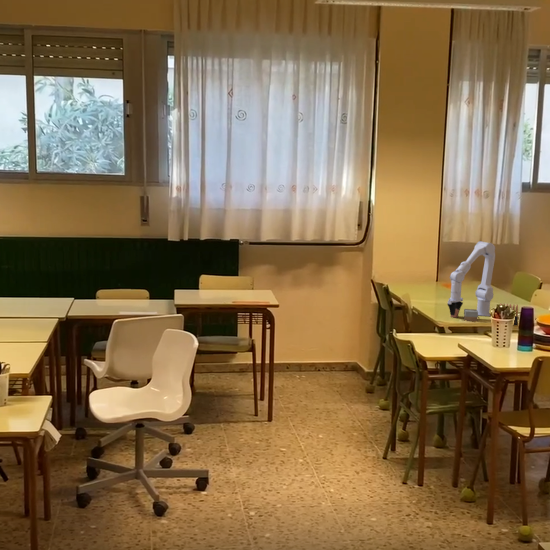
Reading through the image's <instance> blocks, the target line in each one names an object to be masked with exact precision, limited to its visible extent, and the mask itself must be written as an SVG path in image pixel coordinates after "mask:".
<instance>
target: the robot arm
mask: <svg viewBox="0 0 550 550" xmlns="http://www.w3.org/2000/svg"><path fill="white" fill-rule="evenodd" d="M473 247H474V249H473V250H472V252H471V253H470V255H469V256H468V257H467V259H466V260H465V261H462V262H461V263H460V265H459V266H458V267H457V268H456V269H455V270H454V271H452V272H451V273H450V275H449V280H450V283H451V285H450V298H449V297H448V300H447V306H448V309H449V313H450V316H451V315H453V316H454V315H455V310H456V309H458V310H459V313H460V311H461V307H462V306H463V304H464V302H463V301H464V298H463V297H462V296H461V295H462V282H463V281H464V280H465V276H466V274H468V272H469V271H470V269H471V268H472V266H471V265H472V264H473V263H474V262H475V261H476V260H477V259H478V257H480V256H483V257H484V265H483V269H482V276H481V283H480V284H478V285H477V289H476V290H475V297H476V299H477V304H476V305H477V306H476V310H477V311H478V316H481V317H491V314H490V308H491V301H492V300H493V298H494V287H493V286H492V279H493V271H494V265H495V261H496V251H495V250H496V246H495V245H494V244H493V242H485V241H481V240H479V241H478V242H476V244H475V245H474V246H473ZM459 313H458V315H459Z"/></svg>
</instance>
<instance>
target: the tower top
mask: <svg viewBox="0 0 550 550" xmlns="http://www.w3.org/2000/svg"><path fill="white" fill-rule="evenodd" d="M464 315H465V317H478V318H479V315H478V311H477V308H476V309H472V308H464V309H463V316H464Z"/></svg>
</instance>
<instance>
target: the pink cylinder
mask: <svg viewBox="0 0 550 550" xmlns="http://www.w3.org/2000/svg"><path fill="white" fill-rule="evenodd" d="M458 313H460V311H459V310H458V309H456V310H455V315H454V316H453V315H451V314H450V318H452V317H453V318H454V319H457V317H458V318H459V314H458ZM453 318H452V319H453Z"/></svg>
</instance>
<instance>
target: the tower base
mask: <svg viewBox="0 0 550 550" xmlns="http://www.w3.org/2000/svg"><path fill="white" fill-rule="evenodd" d="M478 318H479V316H478V317H465V315H464V314H463V321H465V320H467V321H466V322H474V321H477V322H478Z"/></svg>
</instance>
